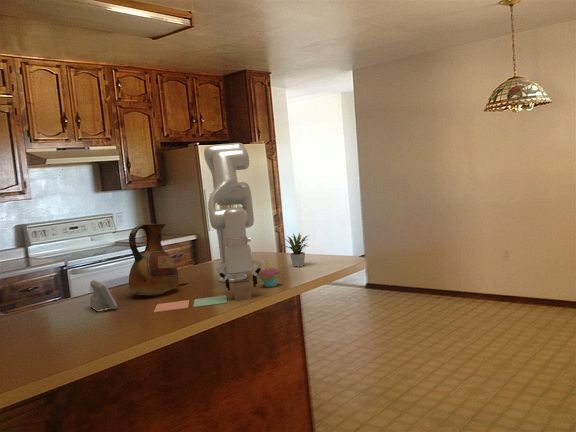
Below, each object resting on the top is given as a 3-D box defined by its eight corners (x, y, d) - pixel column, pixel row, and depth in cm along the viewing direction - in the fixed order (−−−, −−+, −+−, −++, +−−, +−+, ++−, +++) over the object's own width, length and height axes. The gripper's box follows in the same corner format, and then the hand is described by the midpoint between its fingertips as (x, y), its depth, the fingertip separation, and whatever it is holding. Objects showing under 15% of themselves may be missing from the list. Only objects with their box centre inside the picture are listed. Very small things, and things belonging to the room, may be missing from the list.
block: (234, 296, 197) (232, 281, 196) (250, 294, 197) (248, 279, 197) (235, 300, 191) (233, 284, 190) (251, 298, 191) (249, 282, 191)
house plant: (315, 267, 239) (311, 232, 238) (285, 270, 239) (281, 235, 238) (313, 262, 253) (310, 229, 252) (285, 265, 254) (282, 232, 252)
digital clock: (118, 310, 194) (114, 282, 193) (92, 315, 190) (89, 286, 189) (114, 302, 209) (111, 276, 208) (90, 306, 205) (87, 280, 204)
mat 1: (157, 305, 196) (157, 304, 196) (189, 300, 197) (189, 300, 197) (153, 312, 184) (153, 312, 184) (187, 308, 185) (187, 307, 185)
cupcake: (278, 287, 204) (275, 257, 203) (257, 288, 206) (254, 259, 205) (282, 282, 213) (280, 254, 212) (262, 284, 214) (259, 255, 214)
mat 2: (194, 300, 197) (194, 299, 197) (226, 295, 199) (226, 295, 199) (193, 307, 186) (193, 306, 186) (227, 303, 187) (227, 302, 187)
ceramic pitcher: (189, 290, 217) (180, 219, 215) (147, 301, 203) (137, 225, 201) (162, 286, 231) (154, 219, 229) (121, 297, 216) (112, 226, 214)
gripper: (259, 238, 197) (264, 283, 198) (213, 244, 195) (218, 289, 196) (260, 240, 190) (266, 286, 191) (213, 246, 187) (218, 293, 188)
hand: (241, 288), depth 193 cm, fingers open, 9 cm apart
